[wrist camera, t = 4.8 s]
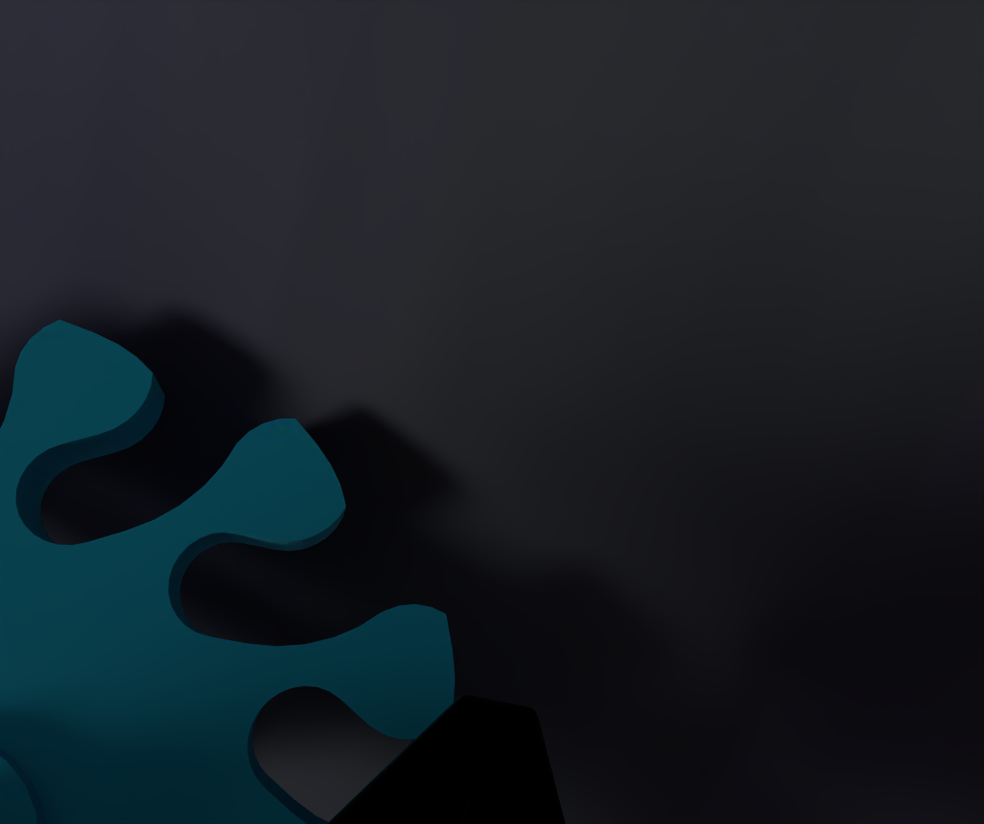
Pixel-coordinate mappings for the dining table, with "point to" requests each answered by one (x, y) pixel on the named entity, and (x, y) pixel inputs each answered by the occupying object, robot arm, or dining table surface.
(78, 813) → the gear
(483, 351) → the dining table surface
